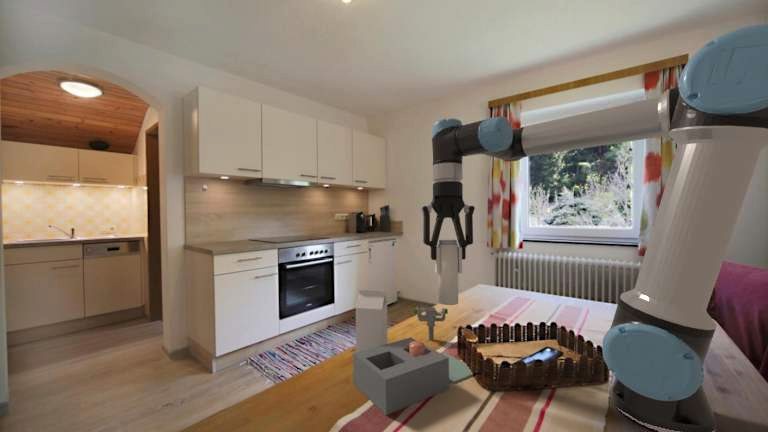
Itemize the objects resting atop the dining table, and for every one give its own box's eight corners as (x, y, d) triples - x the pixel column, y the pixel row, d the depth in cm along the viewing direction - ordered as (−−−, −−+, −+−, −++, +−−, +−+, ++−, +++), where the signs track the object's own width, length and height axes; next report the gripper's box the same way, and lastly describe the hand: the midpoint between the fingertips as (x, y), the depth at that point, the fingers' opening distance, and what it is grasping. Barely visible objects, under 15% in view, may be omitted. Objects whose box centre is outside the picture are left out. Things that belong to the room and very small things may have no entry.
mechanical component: (448, 341, 95) (448, 309, 95) (415, 341, 96) (414, 309, 96) (446, 337, 98) (446, 306, 98) (414, 337, 98) (414, 306, 99)
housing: (449, 388, 69) (448, 357, 69) (385, 415, 60) (385, 379, 60) (410, 363, 81) (410, 337, 81) (353, 383, 72) (352, 353, 72)
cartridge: (455, 299, 82) (454, 239, 82) (460, 304, 77) (460, 240, 77) (436, 299, 82) (436, 239, 82) (441, 305, 77) (440, 241, 77)
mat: (479, 372, 77) (479, 370, 77) (453, 383, 72) (453, 381, 72) (445, 354, 87) (445, 352, 87) (420, 362, 82) (420, 361, 82)
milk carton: (382, 367, 80) (381, 293, 80) (356, 364, 81) (355, 292, 81) (387, 355, 87) (387, 287, 87) (363, 353, 88) (362, 286, 88)
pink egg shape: (427, 376, 73) (427, 345, 73) (416, 381, 71) (415, 348, 71) (418, 370, 76) (418, 339, 76) (406, 374, 74) (406, 343, 74)
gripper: (476, 183, 83) (477, 269, 83) (410, 183, 82) (411, 270, 82) (487, 180, 76) (488, 274, 76) (414, 180, 75) (415, 275, 75)
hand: (448, 272), depth 79 cm, fingers closed on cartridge, 5 cm apart
